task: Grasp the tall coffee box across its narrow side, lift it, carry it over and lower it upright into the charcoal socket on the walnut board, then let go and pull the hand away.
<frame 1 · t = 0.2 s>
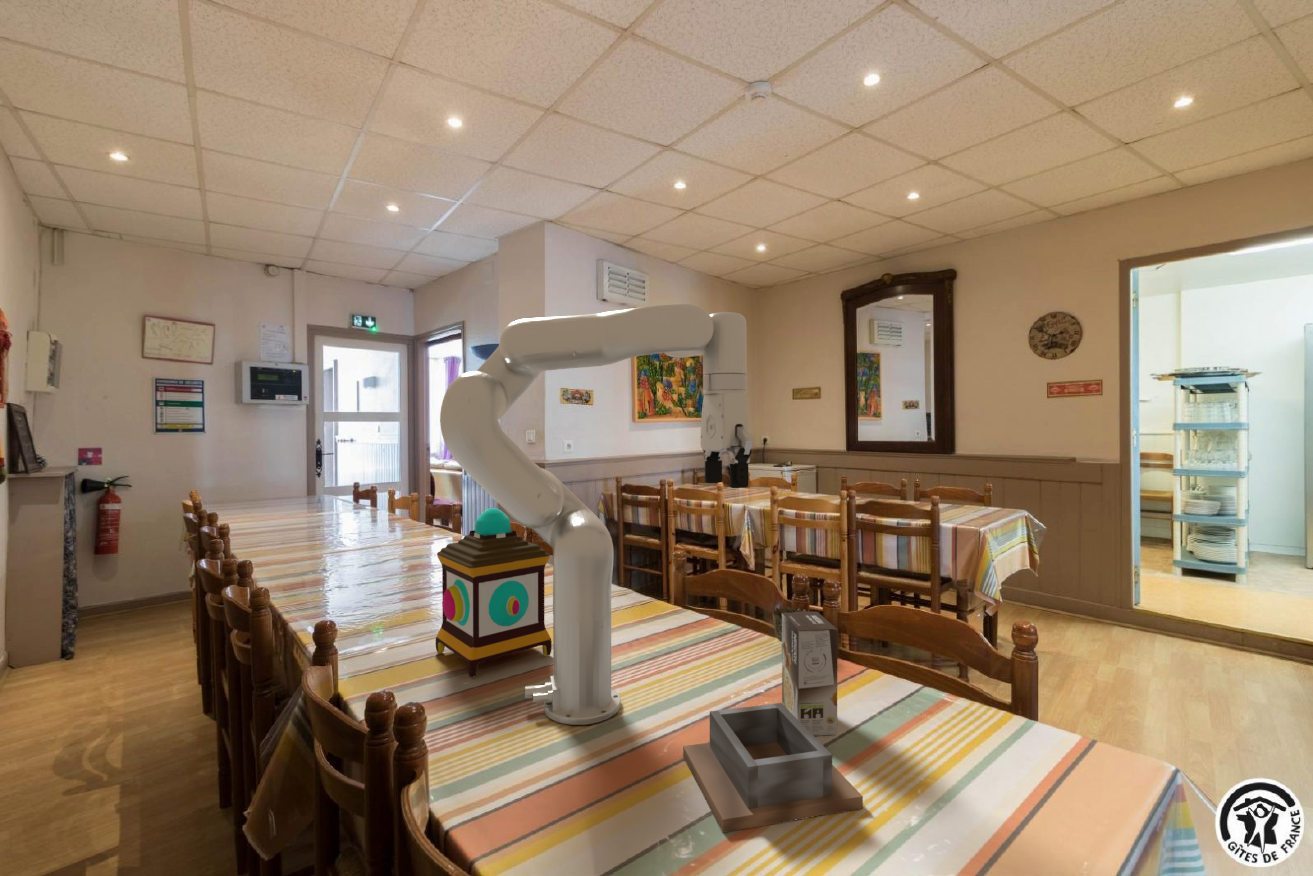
hand: (725, 485, 102), 36 cm above the table, tool pointing down, fingers open, 9 cm apart
decorative lantern: (493, 655, 120), on the table
cup: (790, 650, 123), on the table
coffee box: (808, 722, 93), on the table
post socket: (766, 780, 77), on the table
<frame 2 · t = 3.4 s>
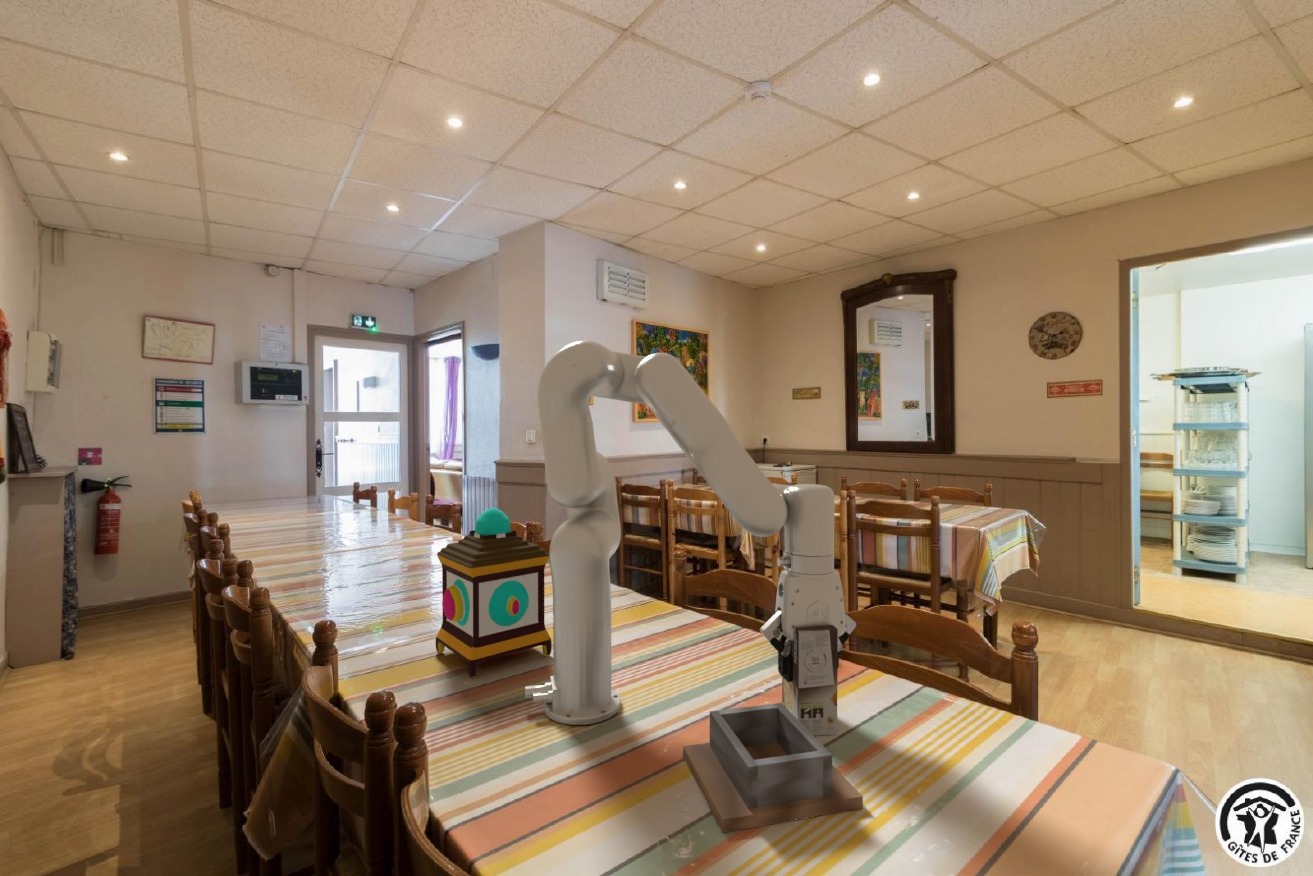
hand: (808, 675, 93), 7 cm above the table, tool pointing down, fingers closed on coffee box, 7 cm apart
coffee box: (808, 722, 93), on the table, touching gripper
everything else where it was.
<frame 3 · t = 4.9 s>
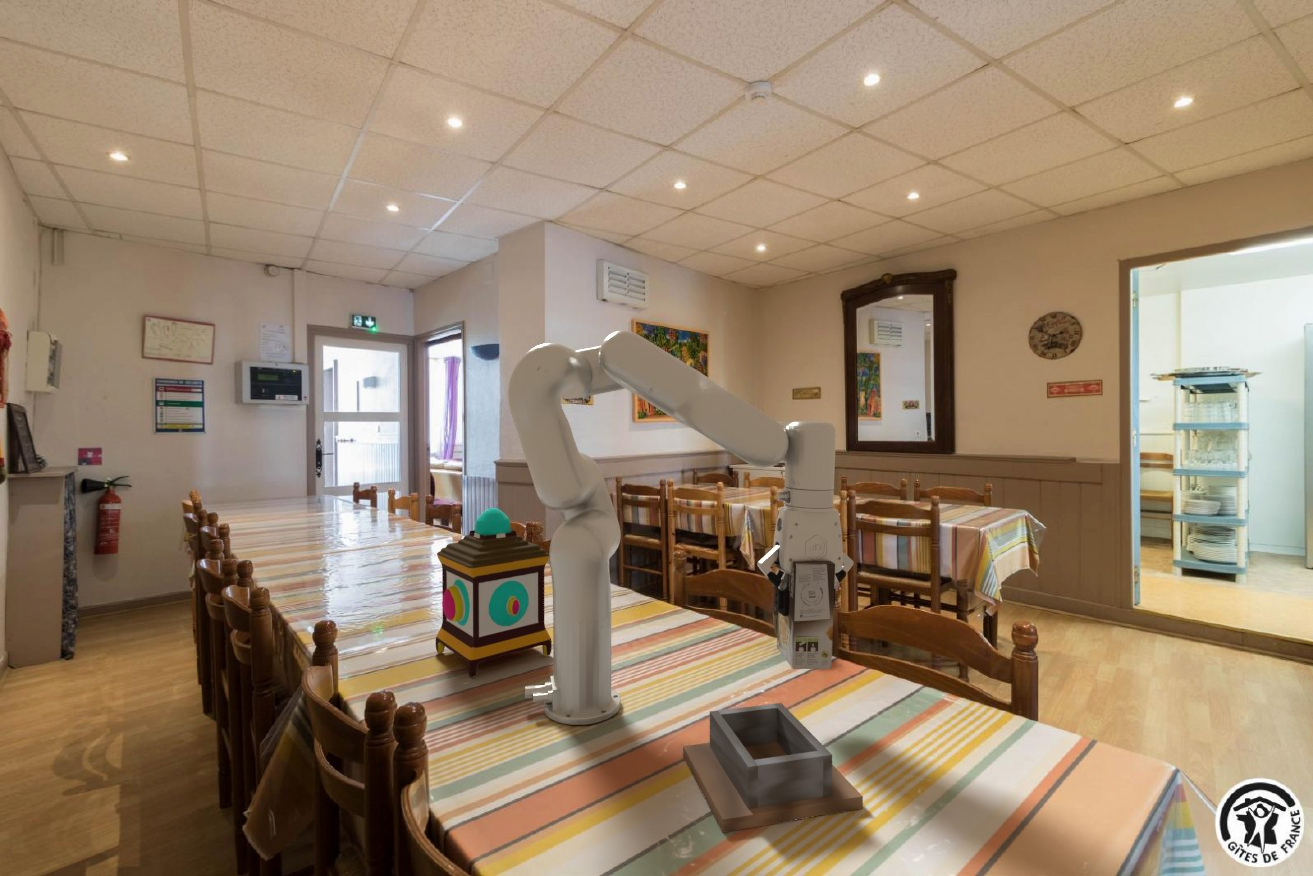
hand: (804, 611, 93), 17 cm above the table, tool pointing down, fingers closed on coffee box, 7 cm apart
coffee box: (802, 659, 93), point 10 cm above the table, touching gripper
everything else where it was.
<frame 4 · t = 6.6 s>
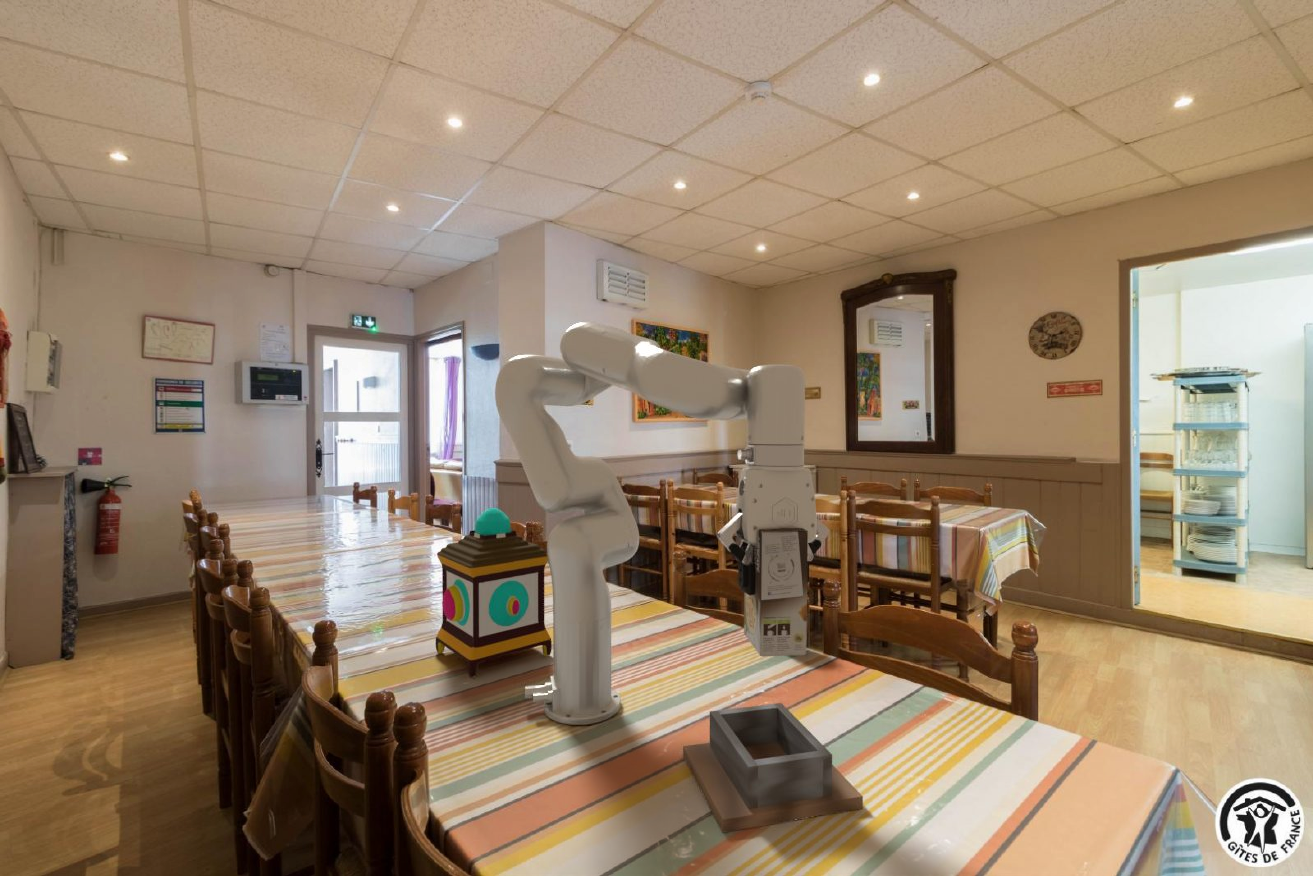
hand: (773, 589, 79), 25 cm above the table, tool pointing down, fingers closed on coffee box, 7 cm apart
coffee box: (773, 645, 79), point 17 cm above the table, touching gripper
everything else where it was.
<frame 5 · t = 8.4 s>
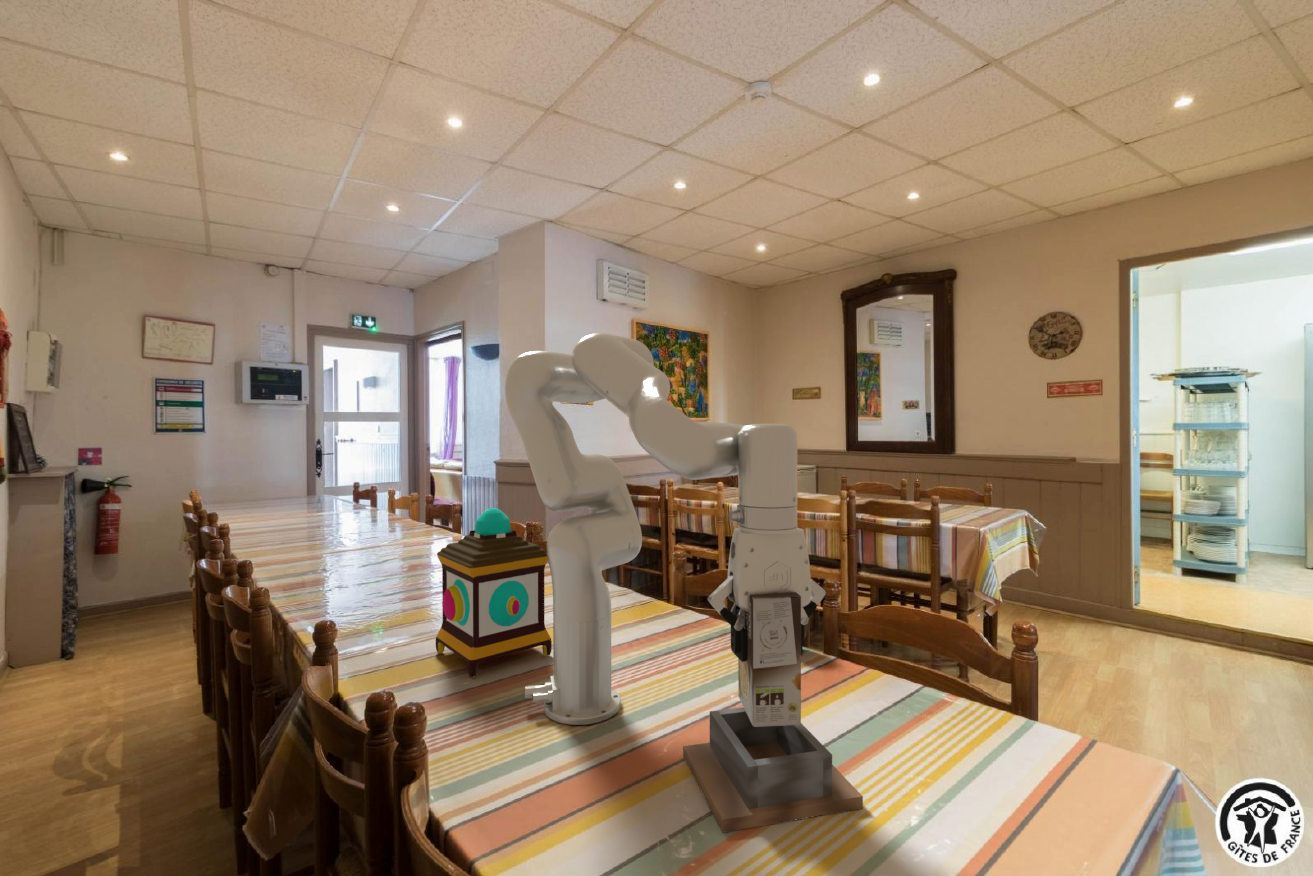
hand: (767, 653, 77), 17 cm above the table, tool pointing down, fingers closed on coffee box, 7 cm apart
coffee box: (767, 711, 77), point 9 cm above the table, touching gripper
everything else where it was.
when the fingers open (11 cm above the table, at t = 10.1 s): coffee box drops 2 cm, resting on post socket.
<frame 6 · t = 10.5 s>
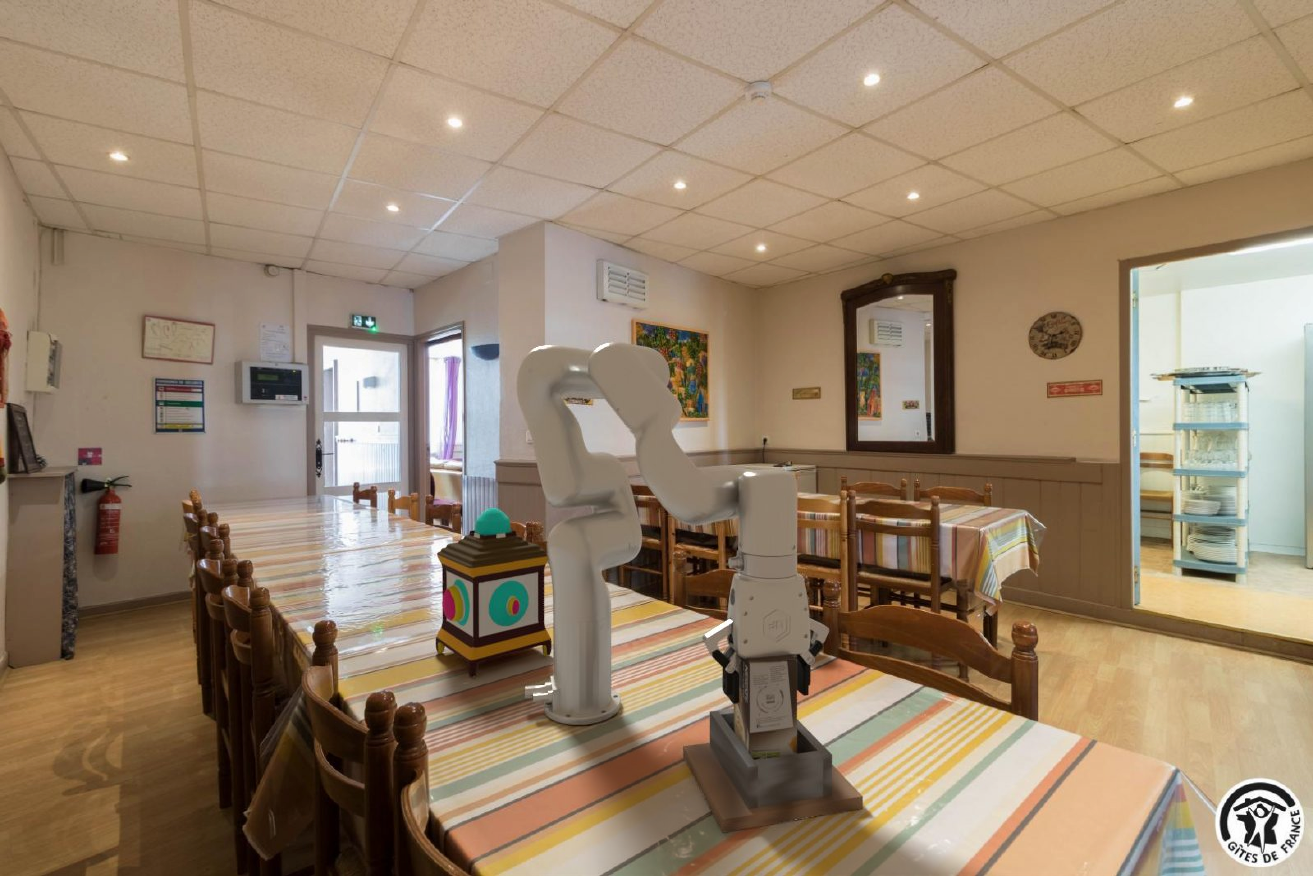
hand: (766, 695, 77), 11 cm above the table, tool pointing down, fingers open, 9 cm apart
coffee box: (763, 770, 77), point 1 cm above the table, touching post socket
everything else where it was.
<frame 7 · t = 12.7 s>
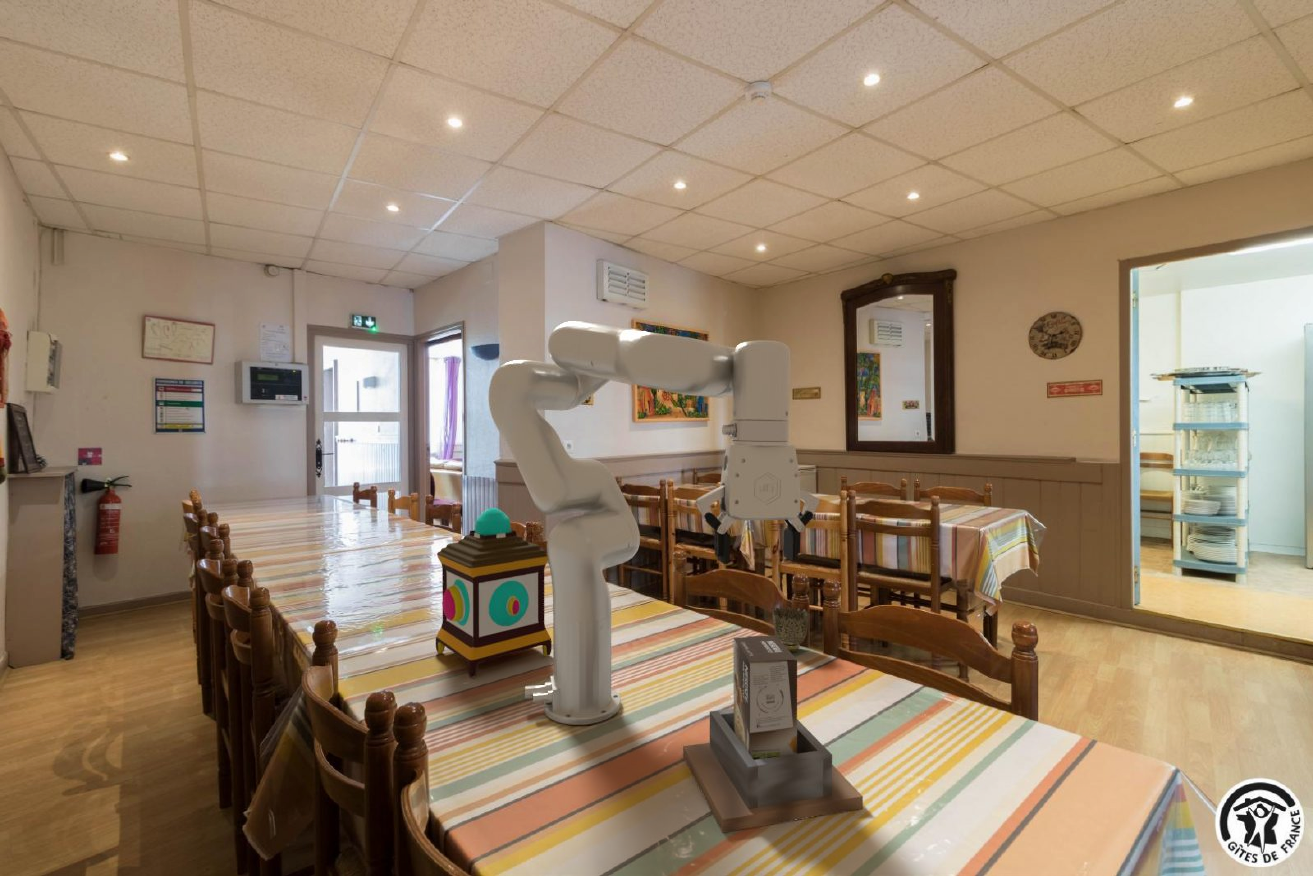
hand: (757, 560, 80), 28 cm above the table, tool pointing down, fingers open, 9 cm apart
nothing on the table moved.
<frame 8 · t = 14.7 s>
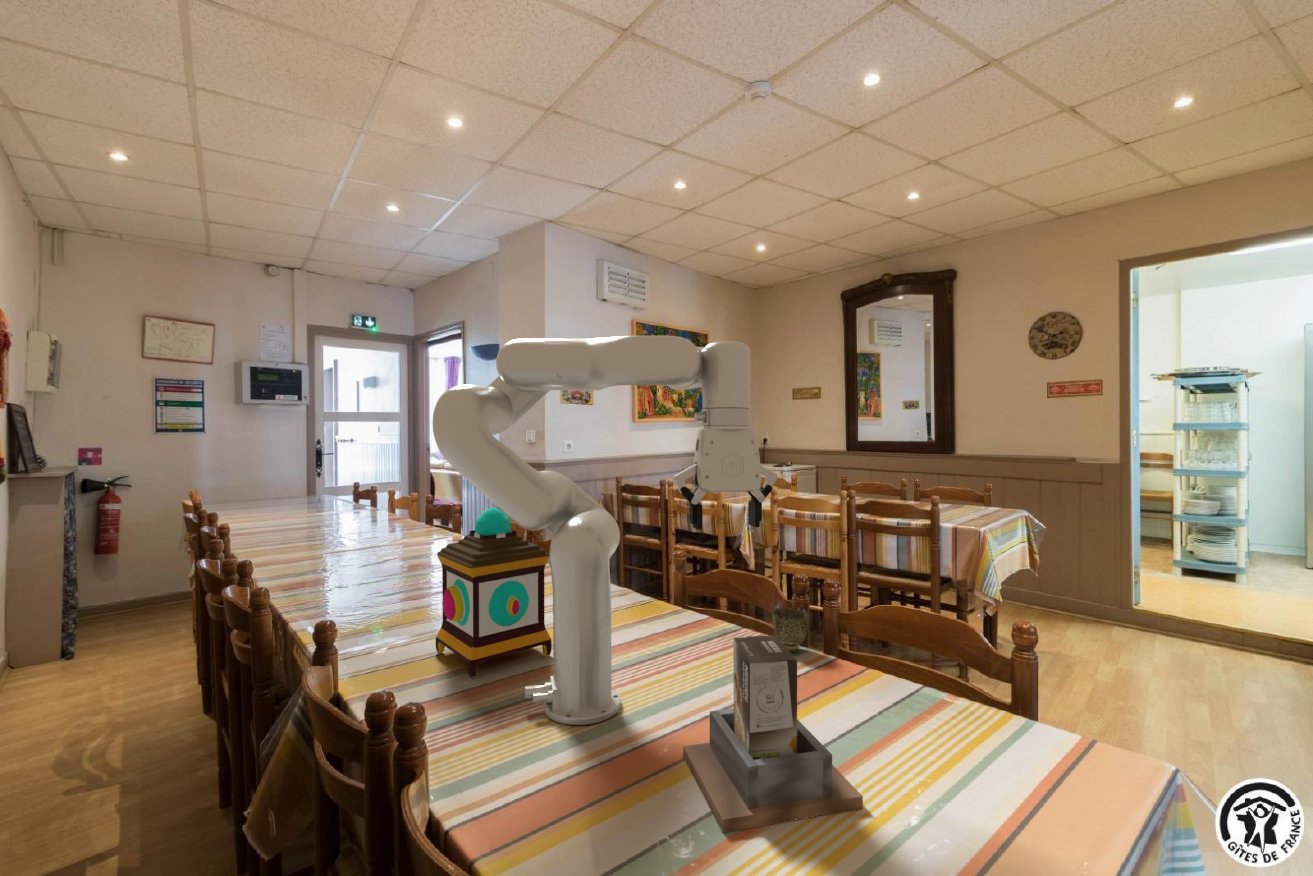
hand: (725, 527, 94), 30 cm above the table, tool pointing down, fingers open, 9 cm apart
nothing on the table moved.
at the end: coffee box 0.4 cm off-centre on the post socket, point 1.3 cm above the post socket's base; coffee box tilted 0°; the gripper is holding nothing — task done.
